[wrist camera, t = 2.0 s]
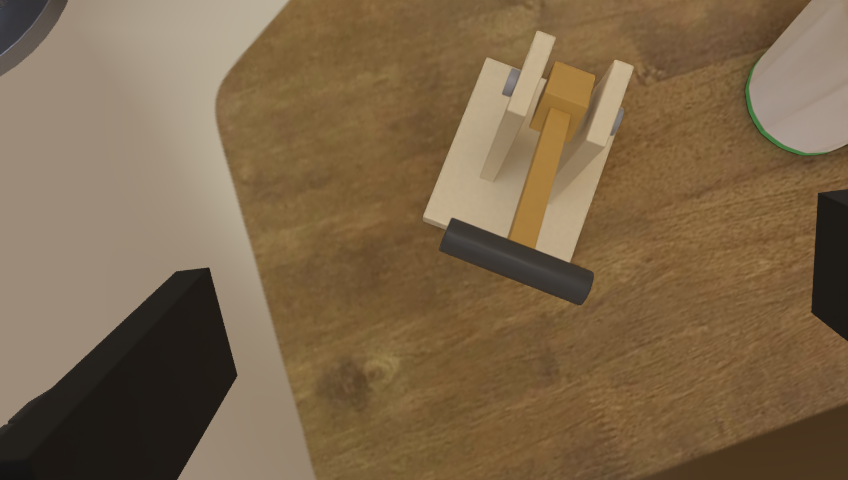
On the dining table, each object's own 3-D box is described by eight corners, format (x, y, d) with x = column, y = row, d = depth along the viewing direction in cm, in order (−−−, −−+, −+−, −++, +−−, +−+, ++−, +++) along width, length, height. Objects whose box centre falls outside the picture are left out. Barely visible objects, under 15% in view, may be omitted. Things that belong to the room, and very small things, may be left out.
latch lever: (572, 318, 26) (596, 286, 24) (433, 264, 26) (446, 227, 24) (611, 124, 34) (631, 88, 32) (505, 84, 34) (519, 46, 33)
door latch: (561, 275, 43) (630, 240, 30) (422, 221, 44) (427, 162, 30) (617, 116, 45) (707, 16, 32) (484, 66, 46) (515, -55, 32)
